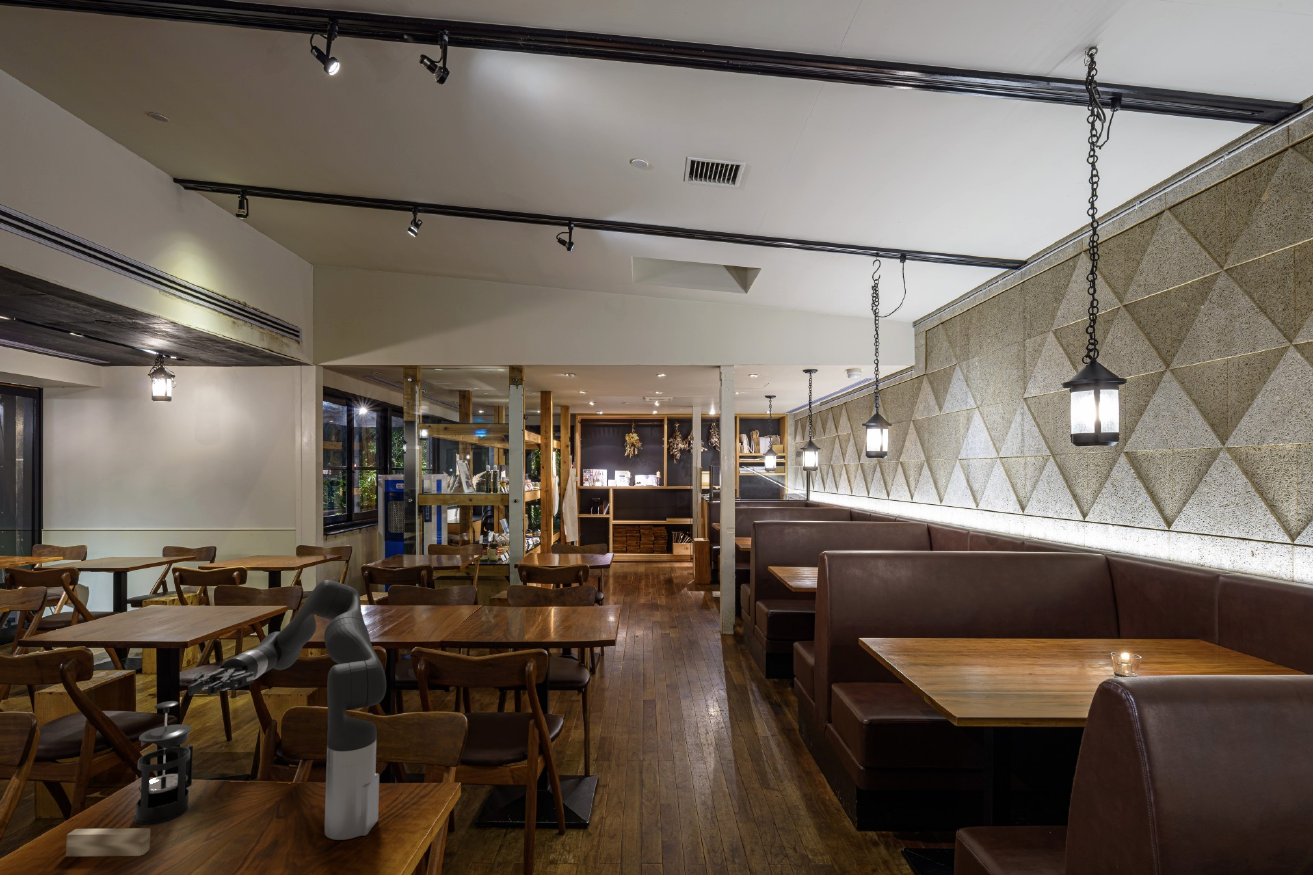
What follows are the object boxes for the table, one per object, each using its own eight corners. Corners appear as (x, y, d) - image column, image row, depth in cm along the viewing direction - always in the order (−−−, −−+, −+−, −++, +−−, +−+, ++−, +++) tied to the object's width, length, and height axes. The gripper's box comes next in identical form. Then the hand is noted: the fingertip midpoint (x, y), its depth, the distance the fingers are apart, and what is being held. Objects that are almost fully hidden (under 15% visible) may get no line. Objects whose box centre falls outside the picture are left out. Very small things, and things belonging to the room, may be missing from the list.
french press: (159, 828, 134) (163, 713, 136) (119, 824, 136) (123, 710, 137) (206, 800, 146) (210, 694, 147) (169, 796, 148) (173, 691, 149)
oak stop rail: (149, 849, 127) (150, 828, 127) (141, 855, 125) (142, 833, 125) (74, 850, 127) (75, 828, 127) (65, 856, 125) (66, 834, 125)
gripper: (216, 653, 169) (168, 674, 152) (272, 653, 170) (231, 674, 152) (215, 683, 169) (167, 707, 152) (271, 683, 169) (230, 707, 152)
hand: (200, 690), depth 152 cm, fingers open, 3 cm apart
